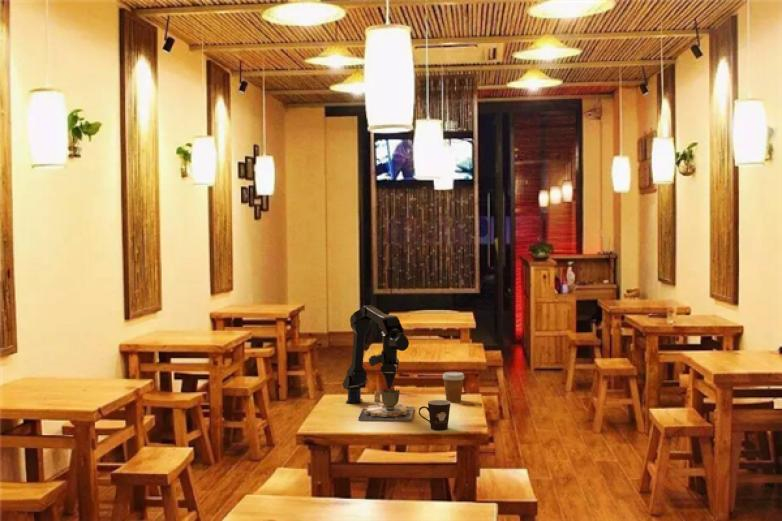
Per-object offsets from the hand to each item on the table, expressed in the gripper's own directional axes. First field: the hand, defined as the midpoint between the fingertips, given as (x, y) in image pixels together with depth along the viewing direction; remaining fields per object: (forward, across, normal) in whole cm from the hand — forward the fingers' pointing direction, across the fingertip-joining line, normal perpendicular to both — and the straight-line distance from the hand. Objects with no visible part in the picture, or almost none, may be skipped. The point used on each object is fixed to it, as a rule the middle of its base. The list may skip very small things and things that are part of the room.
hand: (390, 386), depth 340 cm
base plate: (+12, -4, -2) cm, 13 cm away
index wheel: (+11, -4, -2) cm, 12 cm away
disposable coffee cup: (+13, -31, +25) cm, 42 cm away
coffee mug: (+13, +17, +18) cm, 28 cm away
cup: (+10, 0, 0) cm, 10 cm away
